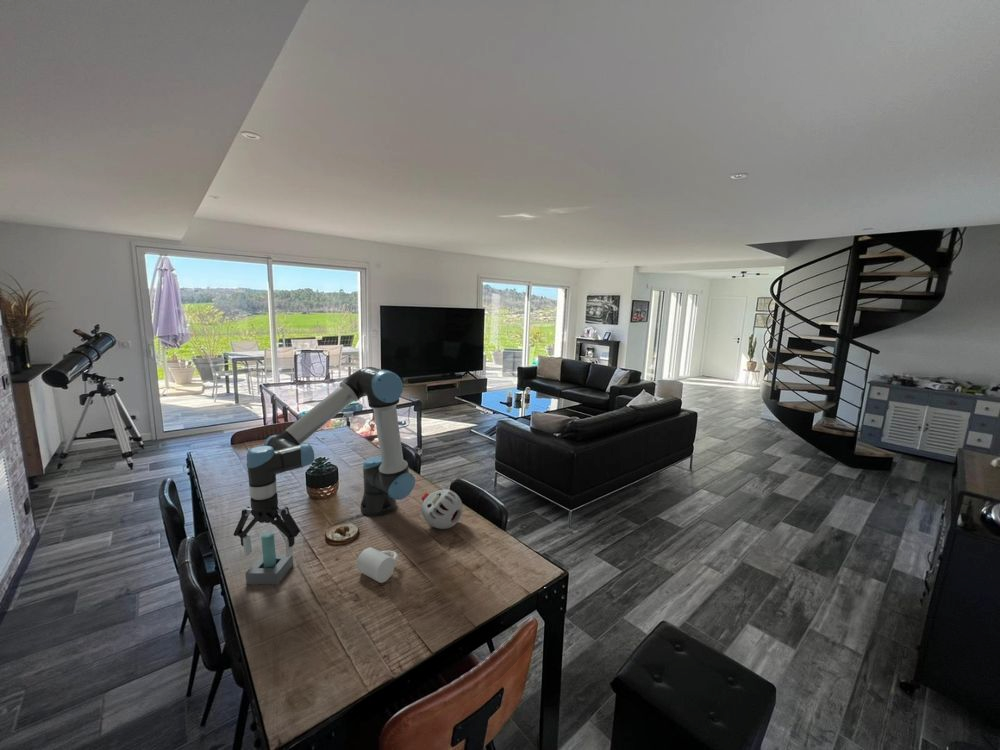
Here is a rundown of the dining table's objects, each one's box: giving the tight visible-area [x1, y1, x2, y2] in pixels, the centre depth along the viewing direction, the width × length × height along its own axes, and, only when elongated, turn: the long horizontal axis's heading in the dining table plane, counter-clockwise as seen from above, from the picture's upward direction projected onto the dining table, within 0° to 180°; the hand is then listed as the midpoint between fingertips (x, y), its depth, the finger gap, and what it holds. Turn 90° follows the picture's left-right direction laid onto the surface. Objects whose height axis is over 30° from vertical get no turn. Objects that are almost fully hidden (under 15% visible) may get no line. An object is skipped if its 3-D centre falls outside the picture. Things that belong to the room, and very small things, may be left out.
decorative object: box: [421, 489, 464, 530], centre depth 165 cm, size 16×19×15 cm
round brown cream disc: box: [324, 522, 360, 546], centre depth 156 cm, size 15×15×4 cm
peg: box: [261, 532, 277, 568], centre depth 132 cm, size 4×4×14 cm
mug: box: [356, 547, 399, 584], centre depth 136 cm, size 12×10×8 cm
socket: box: [245, 553, 294, 586], centre depth 133 cm, size 10×10×4 cm
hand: (269, 554), depth 132 cm, fingers open, 13 cm apart
